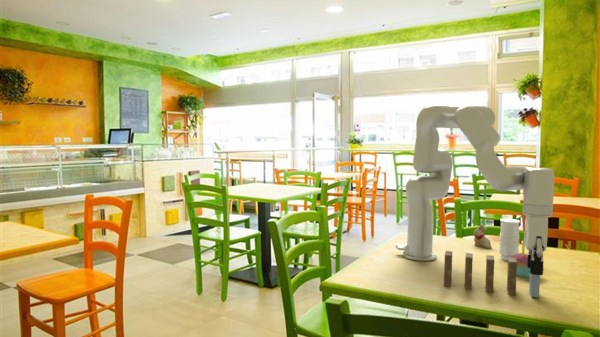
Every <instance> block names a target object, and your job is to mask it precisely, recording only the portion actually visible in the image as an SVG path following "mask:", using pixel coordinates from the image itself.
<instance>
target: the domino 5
mask: <svg viewBox="0 0 600 337" xmlns="http://www.w3.org/2000/svg"><path fill="white" fill-rule="evenodd" d="M530 260H532V258H531V259H530ZM540 284H541V275H535V274H531V273H530V277H529V287H528V288H529V289H528V292H529V294H530V297H531V298H540Z"/></svg>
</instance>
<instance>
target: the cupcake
mask: <svg viewBox="0 0 600 337" xmlns="http://www.w3.org/2000/svg"><path fill="white" fill-rule="evenodd" d="M521 246H522V248H521V251H522V252H521V253H519V254H514V255H513V256H511V258H516V261H517V276H519V277H523V278H528V277H529V278H530V268H528V267H527V264H528V254H529V253H527V254H526V253H525V249H526V247H525V245H524V240H523V241H522V245H521Z"/></svg>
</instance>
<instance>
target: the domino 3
mask: <svg viewBox="0 0 600 337" xmlns="http://www.w3.org/2000/svg"><path fill="white" fill-rule="evenodd" d="M494 278H495V256H494V255H492V254H491V255H489V254H486V264H485V292H486V293H492V294H493V293H494V283H495V282H494V281H495V280H494Z"/></svg>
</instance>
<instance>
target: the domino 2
mask: <svg viewBox="0 0 600 337" xmlns="http://www.w3.org/2000/svg"><path fill="white" fill-rule="evenodd" d="M464 259H465V264H464V266H465V267H464V290H470V291H471V290H473V289H472V287H473V286H472V285H473V261H474V260H473V259H474V258H473V253H470V252H465V258H464Z"/></svg>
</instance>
